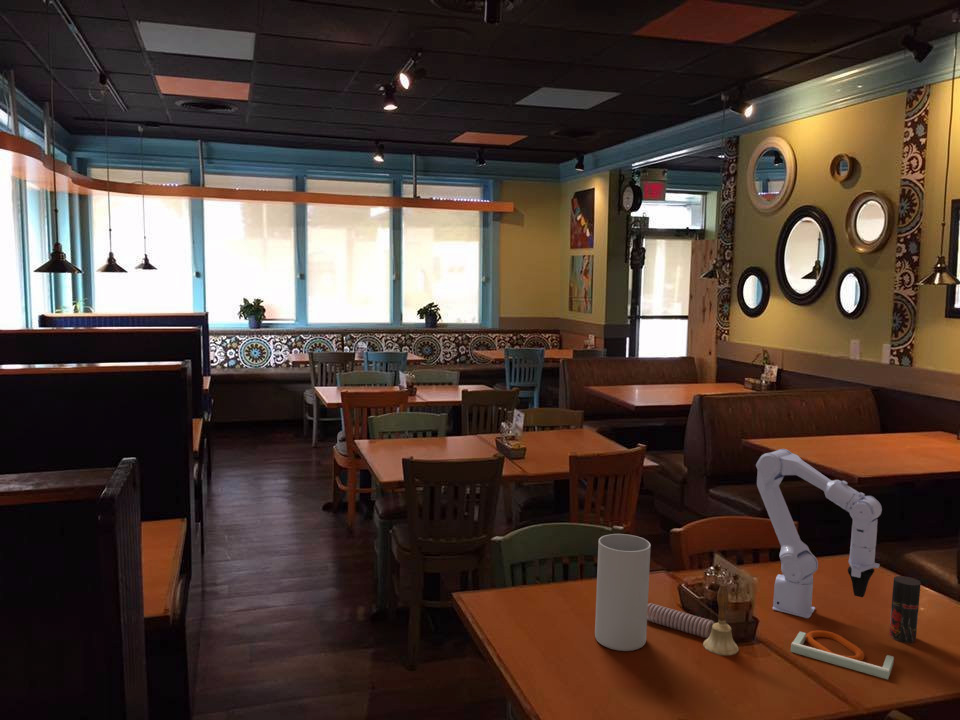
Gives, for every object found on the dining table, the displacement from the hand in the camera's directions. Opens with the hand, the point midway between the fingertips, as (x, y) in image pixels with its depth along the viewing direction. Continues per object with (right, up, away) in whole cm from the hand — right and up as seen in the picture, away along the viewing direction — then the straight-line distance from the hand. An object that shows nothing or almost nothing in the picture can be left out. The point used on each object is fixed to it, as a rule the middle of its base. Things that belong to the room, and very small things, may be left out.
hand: (859, 595), depth 194 cm
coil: (-46, -9, 0) cm, 47 cm away
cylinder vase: (-63, -9, -7) cm, 64 cm away
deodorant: (+10, -10, -2) cm, 14 cm away
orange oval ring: (-11, -11, -9) cm, 17 cm away
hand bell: (-39, -10, -10) cm, 41 cm away
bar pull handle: (-11, -11, -14) cm, 20 cm away
